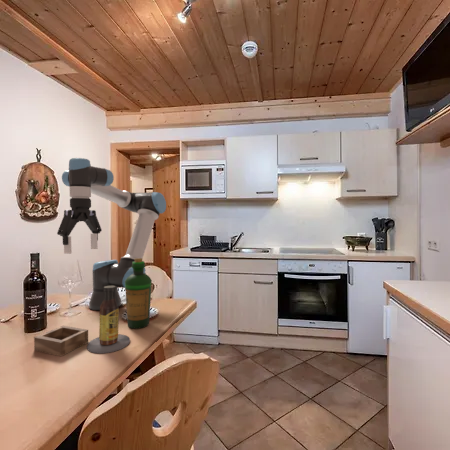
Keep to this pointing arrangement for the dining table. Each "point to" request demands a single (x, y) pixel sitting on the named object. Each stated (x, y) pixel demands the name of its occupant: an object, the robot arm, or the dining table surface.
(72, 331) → the open wooden box
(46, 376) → the dining table surface
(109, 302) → the sauce bottle
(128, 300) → the bottle
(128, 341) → the slate trivet
